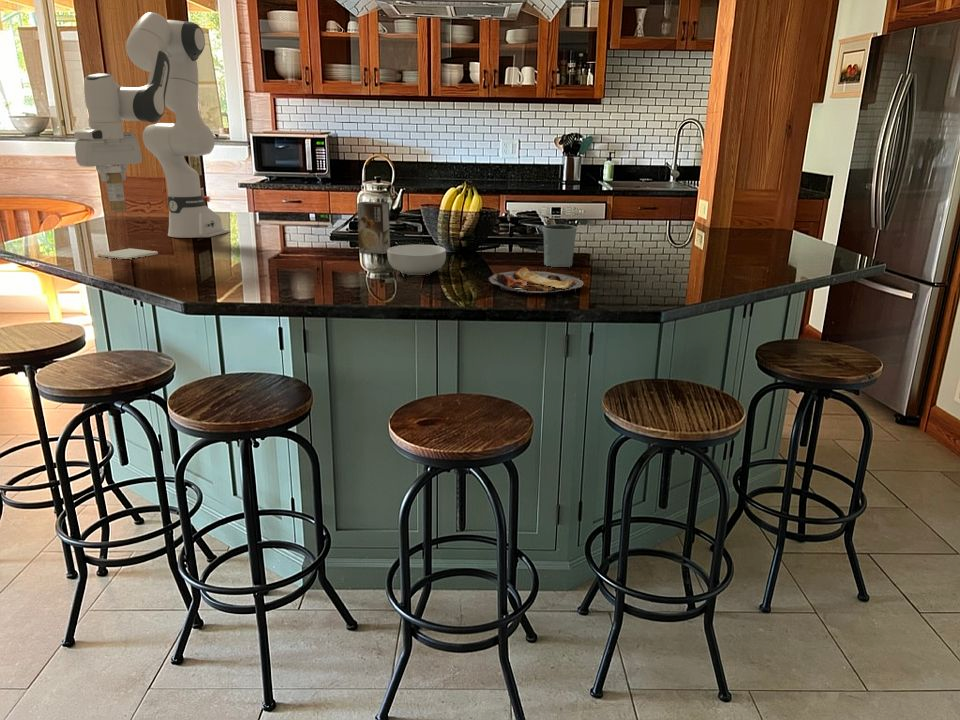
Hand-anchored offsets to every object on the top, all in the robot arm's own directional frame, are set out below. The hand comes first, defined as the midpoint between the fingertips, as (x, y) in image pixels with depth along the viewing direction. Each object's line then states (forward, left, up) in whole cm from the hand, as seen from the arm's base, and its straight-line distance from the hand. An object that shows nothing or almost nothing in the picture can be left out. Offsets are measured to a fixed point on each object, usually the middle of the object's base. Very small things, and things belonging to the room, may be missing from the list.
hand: (113, 180), depth 216 cm
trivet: (0, +1, -23) cm, 23 cm away
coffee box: (-44, +63, -23) cm, 81 cm away
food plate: (-21, +128, -23) cm, 132 cm away
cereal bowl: (-20, +92, -23) cm, 97 cm away
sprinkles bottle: (0, 0, -9) cm, 9 cm away
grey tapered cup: (-52, +124, -23) cm, 137 cm away
